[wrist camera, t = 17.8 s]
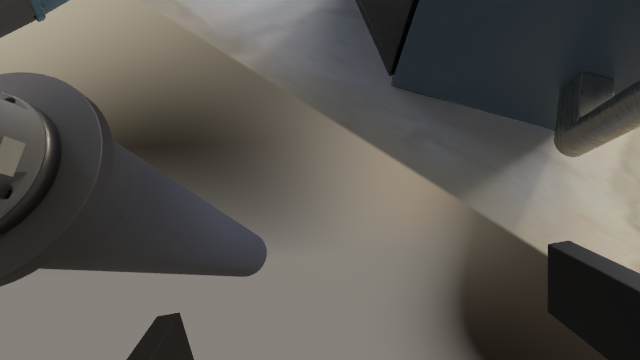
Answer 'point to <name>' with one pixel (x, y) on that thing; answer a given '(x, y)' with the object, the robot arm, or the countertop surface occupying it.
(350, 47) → the countertop surface
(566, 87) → the freezer door
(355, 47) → the countertop surface
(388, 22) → the box
